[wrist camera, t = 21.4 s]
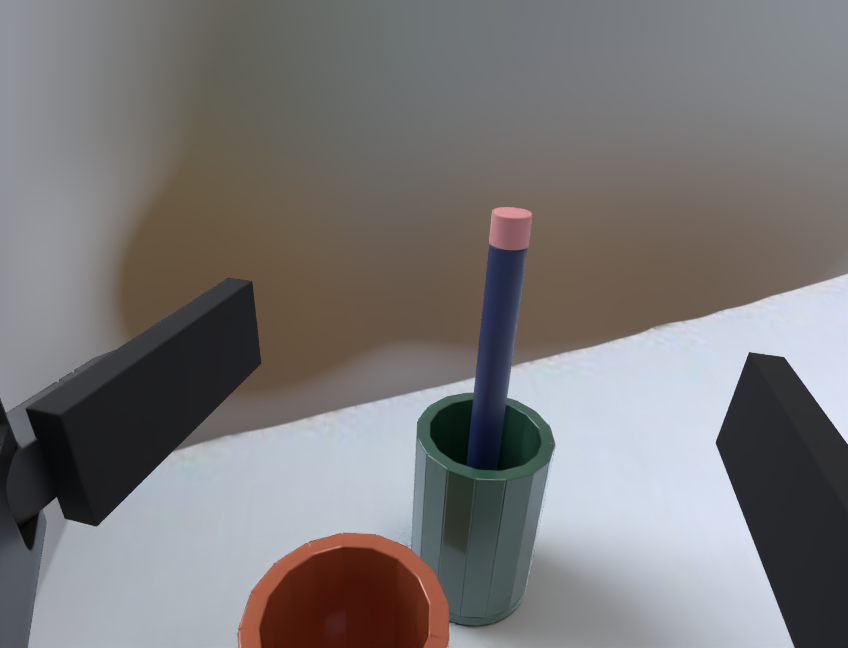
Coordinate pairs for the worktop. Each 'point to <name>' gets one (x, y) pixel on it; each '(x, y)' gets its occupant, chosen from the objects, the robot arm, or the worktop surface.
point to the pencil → (497, 333)
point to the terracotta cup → (347, 598)
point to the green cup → (479, 507)
